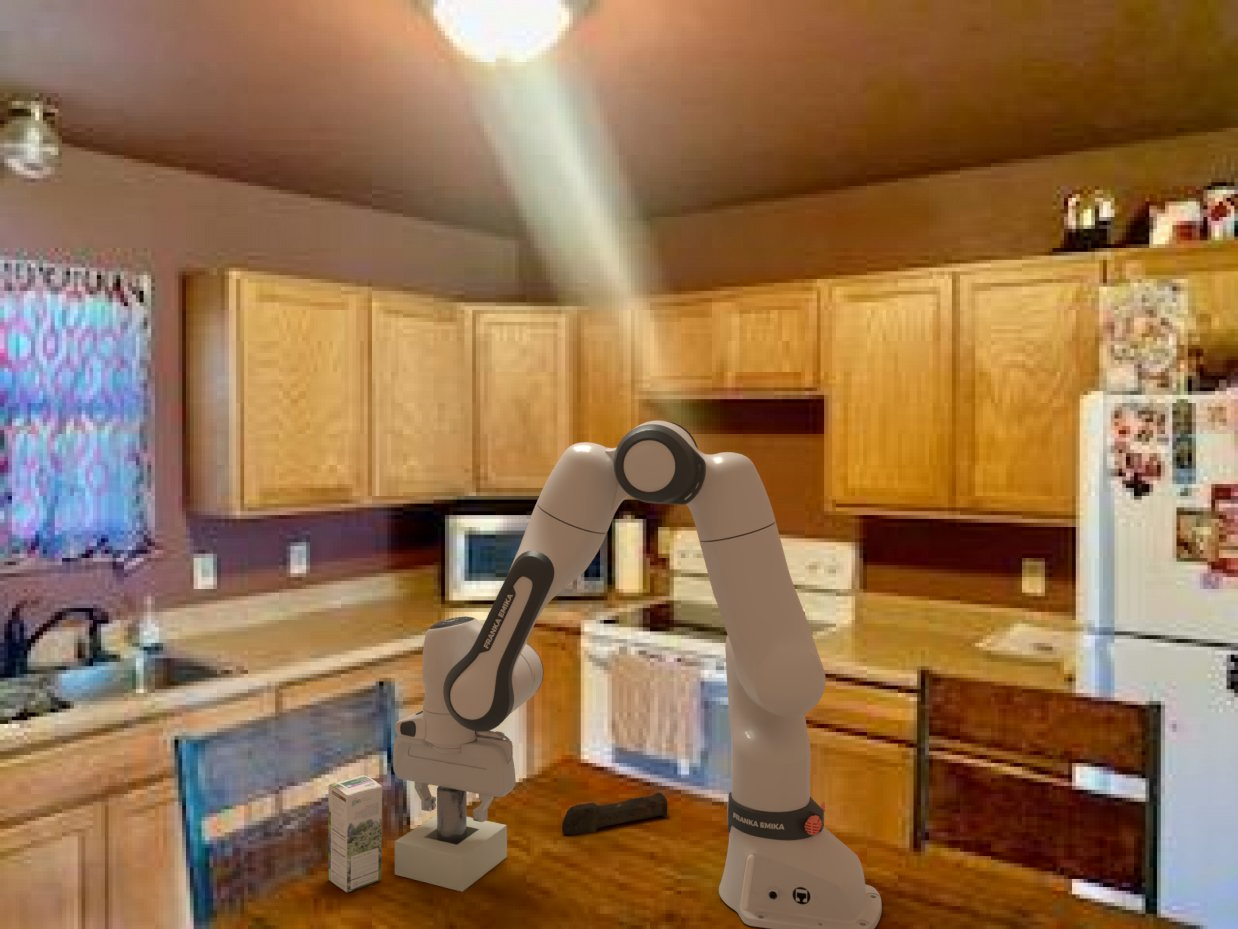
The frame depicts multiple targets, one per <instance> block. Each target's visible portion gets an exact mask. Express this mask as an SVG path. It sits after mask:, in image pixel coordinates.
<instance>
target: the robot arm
mask: <svg viewBox="0 0 1238 929" xmlns="http://www.w3.org/2000/svg"><path fill="white" fill-rule="evenodd" d="M551 470H552V471H551V472H550V473H549V476H548V478H547V479H546V481H545V483H544V486H543V488H542V489H541V492H540V494H539V497H538V499H537V501H536V504H535V506H534V508H533V510H532V513H531V515H530V518H529V521H528V524H527V526H526V529H525V531H524V534H523V536H522V539H521V542H520V545H519V548H518V550H517V552H516V553H515V557H514V559H513V561H512V564H511V566H510V568H509V571H508V573H507V576H506V577H505V579H504V581H503V584H502V585H501V587H500V589H499V592H497V593H498V594H497V596H496V597H495V600H494V602H493V604H492V606H491V609H490V611H489V612H488V615H487V617H486V618H485V621H484V623H483V624H482V623H481V622H480V621H479V619H477V618H475V617H472V616H458V617H457V616H455V617H452V618H449V619H443V620H441V621H438V622H436V623H435V624H432V625H431V626H430V627H429V628H428V629H427V631H426V632H425V636H424V641H423V648H422V649H423V650H422V665H421V666H422V667H421V668H422V673H421V674H422V683H423V685H424V690H425V691H424V692H425V695H424V698H423V704H422V710H420V711H417V712H414V713H412V714H409V715H407V716H405V717H403V718H401V719H400V720H399V719H398V721H396V722H395V724H394V730H395V733H396V735H397V736H396V737H395V739H394V742H393V754H392V756H393V757H392V764H393V765H392V766H393V767H392V768H393V772H394V774H395V776H396V777H397V778H398V779H399V780H405V781H409V782H414V789H415V792H416V793H417V796H418V797H419V799H420V801H421V802H420V805H421V806H420V807H421V811H424V812H430V813H431V812H432V811H433V810H435V809H437V796H433V795H432V794H431V793H432V792H431V790H430V788H429V785H431V786H436V787H439V786H441V787H446V788H451V789H456V790H462V791H467V792H468V793H474V794H478V801H481V802H480V804H479V805H478V806H476V807H475V808H474V809H472V815H473V816H472V818H473V820H474V821H478V822H484V821H488V818H489V817H488V815H489V814H488V813H489V811H488V810H489V809H488V808H489V807H490V805H491V803H492V801H493V799H494V797H495V798H503V797H505V796H507V795H508V794H509V793H511V792H512V791H513V790H514V788H515V787H516V785H517V784H516V782H517V781H516V770H515V762H514V756H513V754H514V752H513V751H514V746H513V741H512V740H510V738H509V737H508V736H507V735H505V732H502V731H499V730H498V731H497V730H496V731H494V729H496V728H497V727H499V726H500V725H501V724H502V723H503V722H504V721H505V720H506V718H508V717H509V716H510V715H511V714H512V713H513V712H515V711H516V710H517V709H519V708H520V707H521V706H523V704H525V703H526V702H527V701H528V700H530V698H532V697H533V696H534V695H535V694H536V693H537V692H539V690H540V688H541V685H542V684H543V681H544V676H545V675H544V665H543V662H542V659H541V657H540V655H539V653H538V652H537V650H536V649H535V648H533V646H531V645H530V644H528V643H527V642H528V639H529V637H530V635H531V633H532V631H533V628H534V626H535V624H536V623H537V620H538V618H539V616H541V614H542V612H543V610H544V609H545V608H546V607H547V605H548V604H549V603H550V602H551V601H552V599H554V598H555V597H556V596H557V595H558V594H559V593H560V592H561V591H563V590H564V589H565V588H566V587H568V586H569V585H570V584H572V583H573V582H574V581H575V580H576V579H577V578H579V577H580V576H581V575H582V574H584V573H585V571H586V570H587V569H588V568H589V566H590V564H592V561H593V560H594V559H595V558H596V555H597V554H598V553H599V551H600V548H601V546H602V545H603V544H604V543H603V542H604V541H605V538H606V536H607V533H608V531H609V529H610V526H611V523H612V521H613V519H614V517H615V514H616V512H617V510H618V508H619V507H620V505H621V504H622V503H623V501H625V500H626V499H627V498H629V497H632V498H633V499H635V500H638V501H640V502H644V503H648V504H653V505H654V504H659V505H660V504H661V505H680V506H681V505H682V506H684V505H686V506H687V508H688V510H689V511H690V513H691V515H692V516H691V517H692V519H693V522H694V525H695V529H696V534H697V537H698V542H699V545H700V549H701V553H702V556H703V559H704V564H705V568H706V572H707V575H708V579H709V583H710V586H711V589H712V590H711V591H712V594H713V596H714V600H715V602H716V605H717V608H718V610H719V614H720V616H721V620H722V621H723V624H724V625H723V626H724V628H725V632H726V634H727V636H726V637H725V638H726V639H725V648H724V649H725V671H726V687H727V701H728V713H729V726H730V734H731V735H730V736H731V779H730V781H731V783H730V784H731V787H730V788H731V791H730V792H729V793H728V798H727V806H726V807H727V809H726V821H727V822H726V823H727V831H728V833H729V835H728V845H727V846H728V847H727V854H726V860H725V864H724V869H723V872H722V873H723V874H722V877H721V880H720V883H719V886H718V895H719V896H720V898H721V900H722V901H723V902H724V903H725V904H726V905H727V906H728V907H730V908H731V909H732V910H734V911H735V912H736V913H737V914H738V916H739V918H740V919H741V921H742V922H743V923H744V924H746V926H750V927H755V928H757V927H758V928H764V929H875V928H876V927H877V926H878V923H879V921H880V919H881V916H882V913H883V912H882V911H883V908H882V907H883V906H882V898H881V895H880V893H879V891H878V890H877V889H876V888H875V887H873V886H871V885H869V884H866V880H865V875H864V869H863V866H862V863H861V861H860V857H858V855H857V854H856V853H855V852H854V851H853V850H852V849H851V848H849V847H848V846H847V845H846V844H844V843H843V842H842V841H841V840H840V839H839V838H837V837H836V836H835V835H834V834H833V833H832V832H831V831H829V830H828V829H827V828H826V827H825V811H826V809H825V808H826V803H825V801H822V803H821V805H819V804H818V803H817V802H816V801H815V799H813V798H812V796H811V741H810V737H809V732H808V727H807V721H806V713H808V712H811V711H812V709H814V708H815V707H816V706H817V705H818V704H819V702H820V701H821V700H822V697H823V695H824V693H825V688H826V682H827V680H826V672H825V668H824V666H823V663H822V661H821V657H820V655H819V652H818V651H819V650H818V649H817V646H816V643H815V639H814V637H813V634H812V631H811V628H810V626H809V625H810V624H809V622H808V619H807V617H806V614H805V611H804V609H803V605H802V603H801V601H800V598H799V596H798V592H797V590H796V588H795V585H794V583H793V580H792V577H791V573H790V569H789V567H788V563H787V559H786V555H785V551H784V547H783V543H782V539H781V536H780V533H779V529H778V525H777V522H776V517H775V513H774V510H773V507H772V504H771V501H770V498H769V496H768V493H767V490H766V488H765V485H764V483H763V481H762V478H761V476H760V474H759V472H758V469H757V468H756V466H755V464H754V462H753V461H752V460H751V459H750V458H749V457H748V456H745V455H744V454H741V453H737V452H732V451H725V452H717V453H713V454H710V453H709V454H707V453H704V452H702V451H701V450H699V448H698V444H697V442H696V440H695V439H694V437H693V436H692V434H691V433H690V431H688V430H687V429H686V428H684V427H683V426H682V425H680V424H678V423H676V422H672V421H668V420H667V421H666V420H650V421H646V422H643V423H641V424H639V425H636V426H635V427H634V428H633V429H631V430H630V431H628V432H627V433H626V434H624V436H622V438H621V439H620V440H619V443H618V445H617V446H616V447H607V446H604V445H601V444H599V443H595V442H588V441H584V442H575V443H574V444H571V445H570V446H568V448H566V449H565V451H564V452H563V453H562V455H561V456H560V457H559V459H558V461H557V463H555V466H554V467H553V468H552V469H551Z"/></svg>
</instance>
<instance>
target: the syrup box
mask: <svg viewBox="0 0 1238 929" xmlns="http://www.w3.org/2000/svg"><path fill="white" fill-rule="evenodd" d="M327 790H328V794H327V795H328V797H327V798H328V799H327V800H328V807H327V809H328V810H327V811H328V815H327V816H328V817H327V818H328V820H327V825H328V826H327V830H328V831H327V834H328V835H327V837H328V839H327V840H328V843H327V844H328V846H327V848H328V849H327V852H328V854H327V856H328V859H327V879H328V881H329V882H331V883H333V884H334V885H335V886H336V887H338V888H339V889H341V890H342V891H344V893H347V894H348V893H350V892H354V891H355V890H359V889H362V888H364V887H367V886H369V885H372V884H375V883H377V882H380V881H381V880H382V870H383V869H382V858H383V857H382V856H383V854H382V853H383V852H382V845H383V844H382V842H383V841H382V838H383V834H382V833H383V826H382V825H383V785H381V784H379V782H377V781H376V780H375V779H373V778H371V777H369V776H367V775H364V774H362V775H357V776H354V777H350V778H348V779H344V780H341V781H337V782H334V783H330V784H328V789H327Z"/></svg>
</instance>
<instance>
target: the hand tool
mask: <svg viewBox="0 0 1238 929" xmlns="http://www.w3.org/2000/svg"><path fill="white" fill-rule="evenodd" d="M668 805H669V804H668V801H667V798H666V797H665V795H664V794H663V793H662V792H656V793H654V794H653V795H649V796H640V797H635V798H630V799H629V798H628V799H627V800H624V801H617V802H613V803H605V804H599V805H597V804H596V803H595V802H594V801H593V802H588V803H581V804H576V805H574V806H573V805H572V806H570V807H569V809H568V810H567V811H566V813H565V815H564V818H563V820H562V824H561V833H562V834H563V835H569V836H571V835H582V833H583V834H588V833H589V834H590V833H595V832H597V831H598V829H600V828H604V827H607V826H614V825H621V824H623V823H628V822H629V823H630V822H634V821H641V820H648V819H653V818H654V817H655V818H656V817H661V818H664V819H666V817H667V816H668Z"/></svg>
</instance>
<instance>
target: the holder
mask: <svg viewBox="0 0 1238 929" xmlns="http://www.w3.org/2000/svg"><path fill="white" fill-rule="evenodd" d="M507 828H508V825H507V824H502V823H499V822H494V821H489V820H485V821H484V822H478V821H474V820H473V817H471V816H467V838H466V839H465V840H463V841H462V842H460V843H459V844H457V845H455V844H451V843H447V842H442V841H438V840H437V814H436V815H435V816H433V817H431V818H430V819H428V820H427V821H425V822H423V823H421V824H420V825H418V826H417V827H415V828H414V829H412V830H411V831H409V832H407V833H406V834H404V835H402V836H401V837H399V838H398V839H396V840H394V875H396V876H400V877H403V878H407V879H410V880H416V881H418V882H423V883H427V884H430V885H435V886H439V887H442V888H446V889H450V890H454V891H458V892H462V893H463V892H464V891H466V890H467V889H468V888H469V887H470V886H472V885H473V884H474V883H476V882H477V881H478V880H479V879H481V878H482V877H483V876H485V874H487V873H488V872H489V871H491V870H492V869H493V868H495V867H497V865H498V864H500V863H501V862H502V861H504V860H505V859H507V857H508V855H507V854H508V829H507Z"/></svg>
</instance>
